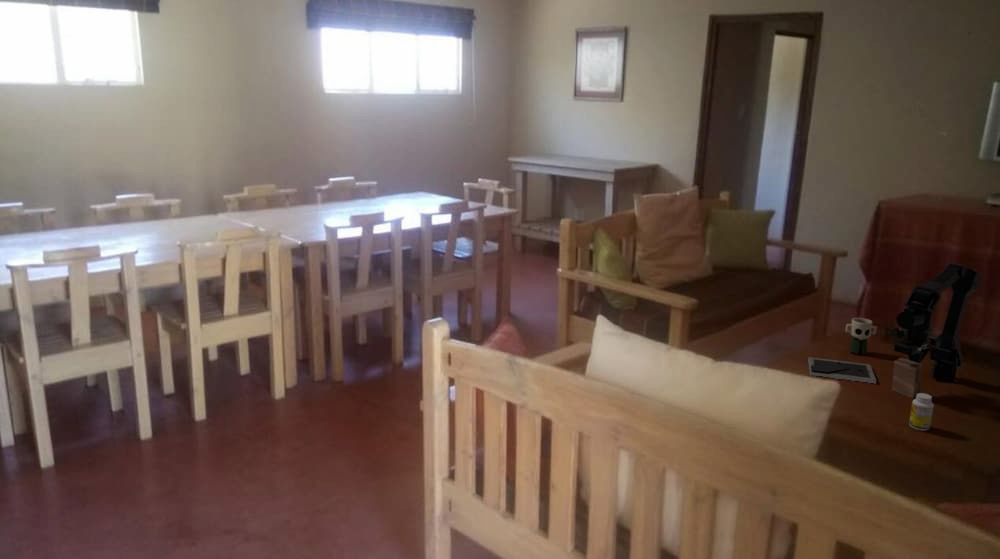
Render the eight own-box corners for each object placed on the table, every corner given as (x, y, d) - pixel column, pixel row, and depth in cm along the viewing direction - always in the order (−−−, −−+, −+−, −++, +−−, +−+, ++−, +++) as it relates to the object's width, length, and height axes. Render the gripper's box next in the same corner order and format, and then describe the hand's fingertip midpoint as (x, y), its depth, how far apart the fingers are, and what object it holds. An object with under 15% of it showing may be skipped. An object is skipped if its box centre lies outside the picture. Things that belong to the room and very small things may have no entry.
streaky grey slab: (898, 386, 250) (901, 357, 247) (919, 394, 244) (922, 364, 241) (891, 390, 248) (894, 361, 245) (912, 398, 243) (915, 368, 239)
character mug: (844, 354, 281) (849, 322, 278) (840, 348, 288) (844, 316, 285) (875, 357, 279) (880, 324, 276) (870, 350, 286) (875, 318, 283)
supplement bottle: (910, 421, 225) (916, 390, 223) (931, 426, 222) (937, 395, 219) (906, 427, 221) (911, 396, 219) (927, 433, 218) (933, 401, 215)
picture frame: (810, 377, 260) (875, 386, 254) (811, 370, 260) (876, 378, 253) (808, 362, 275) (869, 369, 268) (808, 355, 274) (870, 362, 267)
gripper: (911, 313, 253) (904, 356, 257) (881, 321, 243) (874, 366, 247) (945, 322, 244) (937, 366, 248) (914, 331, 234) (907, 377, 238)
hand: (913, 368), depth 246 cm, fingers closed
